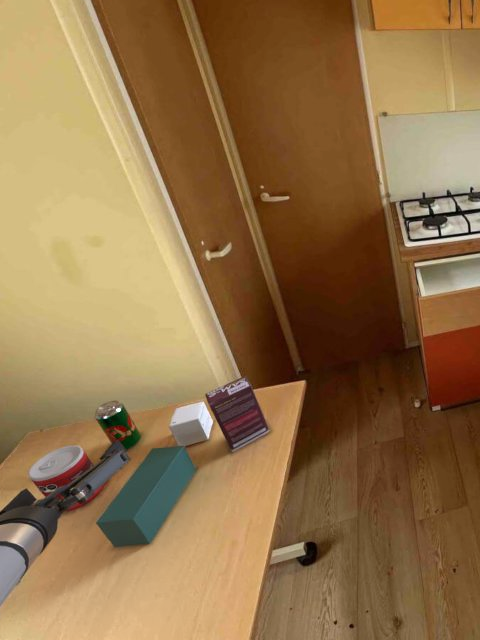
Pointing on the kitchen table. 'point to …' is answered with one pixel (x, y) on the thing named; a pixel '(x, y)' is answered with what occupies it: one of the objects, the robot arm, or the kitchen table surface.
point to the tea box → (147, 497)
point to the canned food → (61, 471)
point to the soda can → (117, 424)
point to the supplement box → (237, 413)
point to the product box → (191, 424)
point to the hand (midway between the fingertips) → (76, 469)
